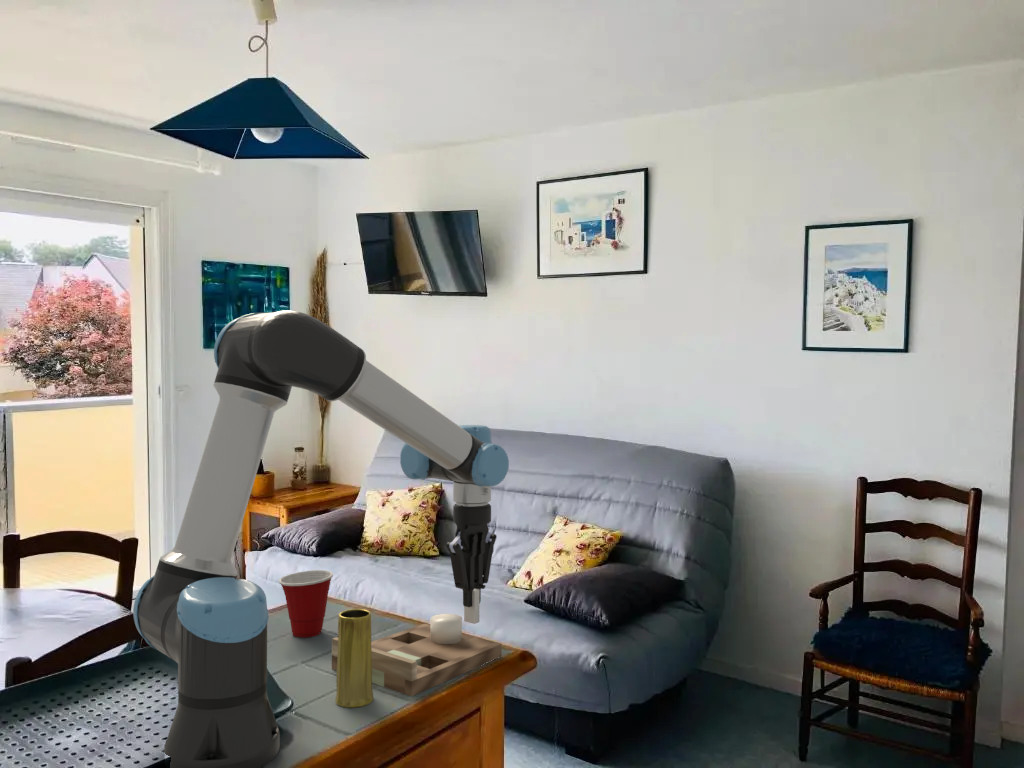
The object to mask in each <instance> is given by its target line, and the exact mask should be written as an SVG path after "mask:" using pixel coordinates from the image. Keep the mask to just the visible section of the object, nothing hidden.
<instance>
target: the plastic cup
mask: <svg viewBox="0 0 1024 768" xmlns="http://www.w3.org/2000/svg"><path fill="white" fill-rule="evenodd" d="M333 576H334V574H333V572H332V571H330V570H324V569H323V570H322V569H317V570H316V569H314V570H305V571H298V572H294V573H290V574H287V575H284V576H282V577H281V578H279V580H278V583H279V584H280V585H281V587H282V590H283V592H284V596H285V600H286V606H287V613H288V617H289V621H290V626H291V633H292V635H293V636H294V637H296V638H303V639H304V638H312V637H316V636H318V635H321V633H322V630H323V626H324V619H325V617H326V609H327V604H328V603H327V602H328V597H329V591H330V585H331V581H332V578H333Z"/></svg>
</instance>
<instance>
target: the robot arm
mask: <svg viewBox="0 0 1024 768" xmlns="http://www.w3.org/2000/svg"><path fill="white" fill-rule="evenodd" d="M213 347H214V348H213V358H214V359H213V360H214V362H215V364H216V367H217V371H216V374H215V375H216V376H215V378H214V382H213V388H214V389H215V390H216V392H217V394H218V396H219V401H218V402H217V403H218V404H217V408H216V411H215V414H214V418H213V421H212V423H211V427H210V430H209V433H208V437H207V440H206V443H205V447H204V450H203V453H202V455H201V456H202V457H201V459H200V463H199V466H198V470H197V473H196V476H195V480H194V483H193V485H192V488H191V491H190V496H189V499H188V501H187V506H186V508H185V512H184V515H183V519H182V521H181V525H180V529H179V531H178V535H177V538H176V541H175V544H174V547H173V548H172V549H171V550H169V551H168V552H166V553H165V554H163V555H161V556H160V558H159V560H158V563H157V566H156V570H155V573H154V575H152V577H150V578H149V579H147V580H146V581H145V582H144V583H143V584H142V585H141V587H140V588H139V590H138V591H137V594H136V597H135V598H134V599H135V600H134V604H133V609H132V610H133V611H132V613H133V615H132V616H133V621H134V624H135V628H136V630H137V632H138V633H139V634H140V636H141V637H142V638H143V639H144V641H145V643H146V644H148V645H149V646H150V647H151V648H152V649H153V650H156V651H158V652H160V653H162V654H163V655H165V656H167V657H168V658H170V659H171V660H173V661H174V662H175V663H177V672H178V673H177V689H178V690H177V691H178V692H177V693H178V694H177V696H178V698H177V699H178V700H177V701H178V702H177V707H176V711H175V713H174V716H173V720H172V723H171V726H170V729H169V732H168V736H167V739H166V740H165V743H164V749H163V753H164V752H165V754H166V755H168V756H170V757H171V762H170V768H262V767H265V765H267V764H268V763H270V762H271V761H273V760H274V759H275V758H276V756H277V755H278V754H279V751H280V730H279V725H278V723H277V720H276V717H275V714H274V711H273V708H272V706H271V703H270V700H269V697H268V692H267V691H268V689H267V688H268V683H267V682H268V680H267V679H268V623H269V609H268V603H267V601H268V600H267V596H266V595H267V594H266V593H265V591H264V589H263V588H262V587H261V586H260V585H258V584H257V583H255V582H253V581H251V580H247V579H244V578H238V574H239V573H238V571H237V568H236V567H235V565H234V563H233V562H232V561H233V555H234V551H235V549H236V544H237V542H238V541H237V540H238V538H239V534H240V531H241V527H242V524H243V522H244V521H243V520H244V517H245V514H246V511H247V508H248V504H249V501H250V498H251V494H252V493H251V492H252V489H253V487H254V483H255V480H256V476H257V473H258V470H259V467H260V463H261V460H262V456H263V453H264V449H265V445H266V442H267V438H268V435H269V432H270V429H271V425H272V422H273V418H274V415H275V413H276V412H277V411H278V410H279V409H281V408H283V407H285V406H287V404H288V400H289V398H290V395H291V391H292V387H293V388H294V387H295V388H299V389H302V390H306V391H309V392H311V393H314V394H316V395H318V396H320V397H321V398H323V399H324V400H326V401H327V402H335V401H340V402H341V403H343V404H344V405H346V406H347V407H349V408H351V409H352V411H353V410H354V411H355V412H357V413H358V414H359V415H361V416H363V417H364V418H366V419H368V420H369V421H370V422H372V423H373V424H375V425H377V426H378V427H380V428H381V429H383V430H385V431H386V432H387V433H389V434H391V435H392V436H394V437H396V438H397V439H399V440H400V441H401V442H403V443H404V445H402V448H401V450H400V454H399V455H400V462H399V463H400V467H401V470H402V472H403V474H404V475H405V476H406V477H407V478H408V479H411V480H421V481H423V480H426V479H438V480H442V481H448V482H453V486H452V488H453V489H452V490H453V491H452V493H453V494H452V501H453V502H454V503H455V504H454V505H453V506H452V507H453V508H452V509H453V511H452V513H453V514H452V515H453V518H452V519H453V523H454V524H455V525H456V529H455V530H456V531H455V532H454V539H453V540H452V541H447V542H446V549H447V551H448V552H449V557H450V562H451V569H452V575H453V580H454V587H455V588H456V589H459V590H462V604H463V611H464V612H463V616H464V617H463V618H464V619H463V622H465V623H469V624H473V625H475V624H478V623H480V604H481V601H482V599H481V595H482V594H481V593H482V592H481V590H482V589H483V590H484V589H486V585H485V584H487V583H488V582H489V578H490V573H491V572H490V571H491V565H492V558H493V551H494V546H495V544H496V541H497V534H496V533H491V532H490V530H489V526H488V525H489V524H490V523H491V522H492V505H491V504H490V502H491V500H492V487H495V486H498V485H500V484H501V483H502V482H503V481H504V480H505V479H506V476H507V474H508V471H509V467H510V460H509V456H508V453H507V451H506V449H505V448H503V446H501V445H499V444H494V443H492V432H491V429H490V427H489V426H487V425H478V424H477V425H476V424H465V425H464V424H463V425H458V424H457V423H455V422H454V421H452V420H451V419H450V418H449V417H447V416H446V415H445V414H442V413H441V412H440V411H438V410H437V409H436V408H434V407H433V406H432V405H430V404H428V403H427V402H426V401H425V400H422V399H421V398H420V397H419V396H417V395H416V394H414V393H413V392H411V391H410V390H409V389H407V388H406V387H404V385H402V384H400V383H399V382H397V381H396V380H395V379H393V378H392V377H391V376H389V375H387V374H386V373H384V372H383V371H382V370H381V369H379V368H378V367H376V366H375V365H373V364H372V363H370V361H368V360H367V354H366V353H365V351H364V349H362V348H361V347H359V346H358V345H357V344H355V342H353V341H351V340H350V339H348V338H347V337H346V336H344V335H342V334H341V333H340V332H338V331H337V330H335V329H334V328H333V327H331V326H329V325H327V324H326V323H324V322H323V321H321V320H320V319H318V318H316V317H314V316H312V315H310V314H307V313H305V312H301V311H297V310H290V309H289V310H288V309H287V310H279V311H271V312H253V313H252V312H251V313H249V314H244V315H241V316H240V317H237V318H235V319H233V320H231V321H230V322H229V323H227V324H226V325H225V326H224V327H223V328H222V329H221V331H219V334H218V336H217V338H216V339H215V343H214V346H213ZM237 578H238V579H237Z"/></svg>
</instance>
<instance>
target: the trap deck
mask: <svg viewBox="0 0 1024 768" xmlns="http://www.w3.org/2000/svg"><path fill="white" fill-rule="evenodd" d="M502 646H503V644H502V643H501V642H496V641H492V640H490V639H489V640H488V639H485V638H480V637H477V636H473V635H470V634H465V633H462V640H461V641H460V642H458V643H454V644H437V643H434V642H432V641H431V640H430V624H429V623H428V624H427V623H422V624H419V625H416V626H413V627H410V628H407V629H405V630H401V631H398V632H395V633H393V634H390V635H388V636H384V637H380V638H378V639H376V640H371V649H372V684H374V685H375V686H376V685H377V686H379V687H383V688H386V689H389V690H392V691H395V692H397V693H400V694H403V695H406V696H409V697H414V696H416V695H418V694H420V693H423V692H426V691H428V690H429V689H432V688H434V687H436V686H439V685H441V684H444V683H447V682H448V681H450V680H452V679H456V678H457V677H460V676H462V675H463V673H464V674H466V673H468V671H469V672H470V670H471V671H473V670H475V668H476V669H478V668H480V667H481V665H482V666H484V665H483V664H484V663H486V662H489V661H491V660H493V659H496V658H498V657H501V656H503V655H502V652H503V649H502V648H503V647H502ZM337 656H338V636H337V637H333V638H331V670H333V671H336V672H337ZM501 658H502V657H501ZM498 659H499V658H498ZM496 660H497V659H496ZM489 663H490V662H489ZM479 666H480V667H479ZM477 667H478V668H477Z"/></svg>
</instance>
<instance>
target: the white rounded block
mask: <svg viewBox="0 0 1024 768" xmlns="http://www.w3.org/2000/svg"><path fill="white" fill-rule="evenodd" d="M429 621H430V622H429V623H430V624H429V625H430V640H431V641H432V642H434V643H437V644H454V643H458V642H460V641H461V640H462V634H463V631H462V630H463V618H462V616H461V615H458V614H456V613H455V614H454V613H440V614H439V613H438V614H436V615H432V616H431V617H430V620H429Z"/></svg>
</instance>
